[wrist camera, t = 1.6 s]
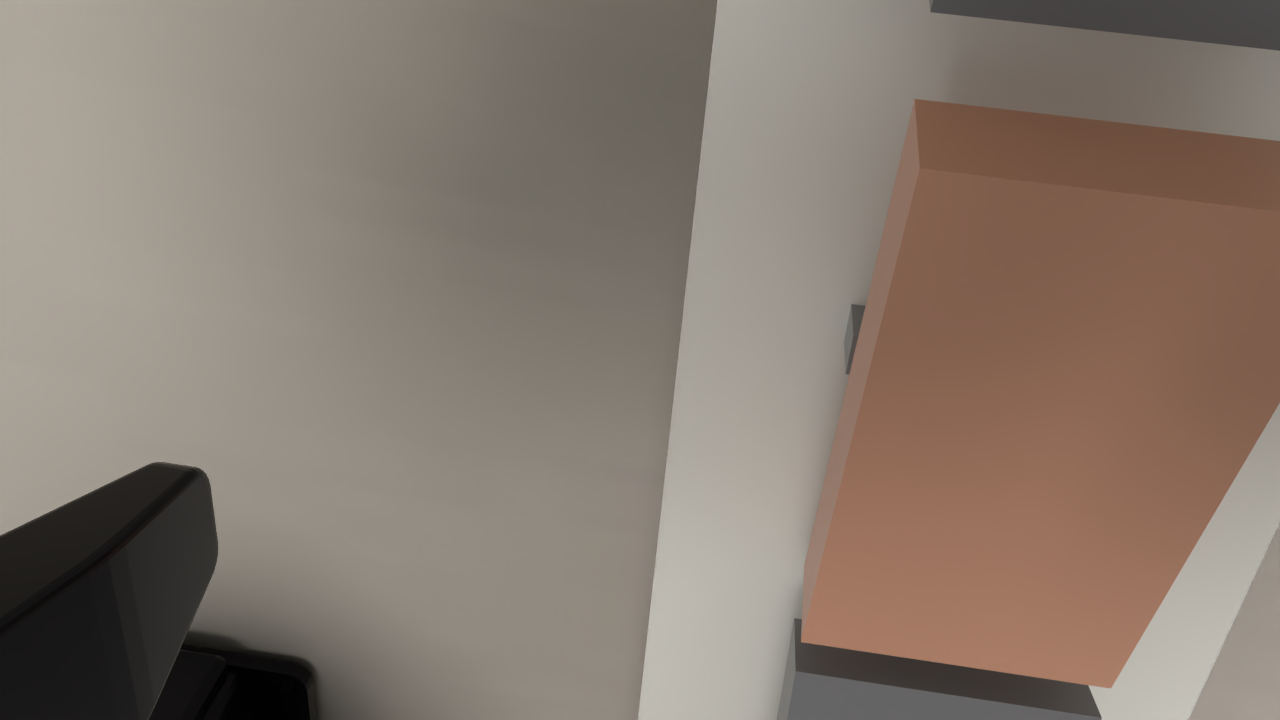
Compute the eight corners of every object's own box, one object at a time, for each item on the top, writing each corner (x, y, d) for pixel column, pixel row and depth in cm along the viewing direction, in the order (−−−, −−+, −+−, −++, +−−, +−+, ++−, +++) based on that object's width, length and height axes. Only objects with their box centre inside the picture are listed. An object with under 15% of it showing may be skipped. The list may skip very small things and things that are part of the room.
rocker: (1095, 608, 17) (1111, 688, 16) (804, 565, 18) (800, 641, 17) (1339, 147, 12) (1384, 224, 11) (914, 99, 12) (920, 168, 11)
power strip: (982, 907, 30) (1017, 1159, 24) (632, 850, 30) (595, 1083, 25) (1676, -921, 13) (2252, -1326, 8) (843, -963, 13) (863, -1365, 8)
